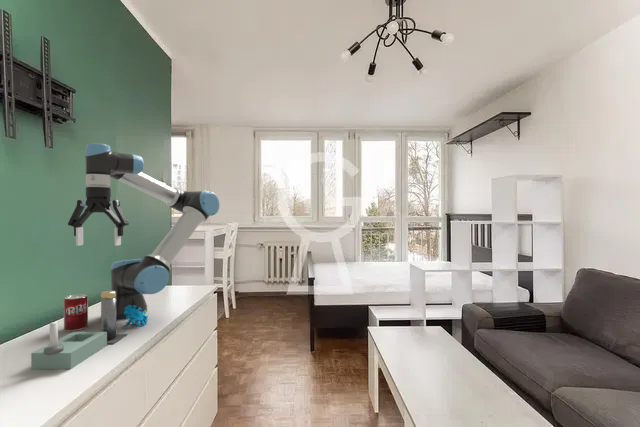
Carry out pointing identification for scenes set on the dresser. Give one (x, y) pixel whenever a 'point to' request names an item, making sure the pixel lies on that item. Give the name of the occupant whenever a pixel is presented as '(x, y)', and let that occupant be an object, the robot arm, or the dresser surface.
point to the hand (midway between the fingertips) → (98, 245)
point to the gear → (135, 315)
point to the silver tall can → (108, 313)
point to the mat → (118, 337)
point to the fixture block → (67, 349)
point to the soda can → (75, 312)
